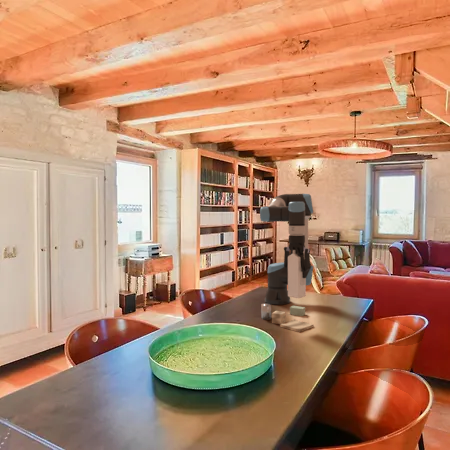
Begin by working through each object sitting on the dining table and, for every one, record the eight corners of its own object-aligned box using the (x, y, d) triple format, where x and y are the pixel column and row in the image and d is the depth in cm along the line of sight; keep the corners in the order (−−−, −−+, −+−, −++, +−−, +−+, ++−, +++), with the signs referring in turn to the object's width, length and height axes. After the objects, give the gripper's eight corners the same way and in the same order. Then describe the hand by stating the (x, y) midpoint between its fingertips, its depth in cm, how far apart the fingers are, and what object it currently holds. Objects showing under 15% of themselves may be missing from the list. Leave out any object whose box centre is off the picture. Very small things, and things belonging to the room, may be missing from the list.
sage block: (289, 314, 196) (289, 307, 196) (292, 312, 200) (292, 305, 200) (302, 316, 193) (302, 309, 192) (305, 314, 196) (305, 307, 196)
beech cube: (271, 323, 182) (271, 312, 182) (276, 320, 186) (276, 310, 186) (281, 324, 179) (281, 314, 179) (285, 322, 183) (285, 311, 183)
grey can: (259, 318, 190) (259, 304, 190) (265, 316, 193) (265, 302, 193) (266, 320, 186) (266, 306, 186) (273, 318, 190) (273, 304, 189)
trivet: (280, 326, 175) (280, 324, 175) (294, 321, 183) (294, 319, 183) (299, 332, 167) (299, 329, 167) (313, 326, 175) (313, 324, 175)
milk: (305, 296, 174) (306, 249, 174) (298, 298, 170) (298, 250, 169) (295, 294, 179) (295, 248, 178) (287, 296, 175) (287, 249, 174)
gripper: (275, 234, 178) (275, 282, 179) (309, 236, 164) (309, 288, 165) (285, 233, 183) (285, 280, 184) (318, 235, 169) (318, 285, 170)
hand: (296, 283), depth 174 cm, fingers closed on milk, 6 cm apart
